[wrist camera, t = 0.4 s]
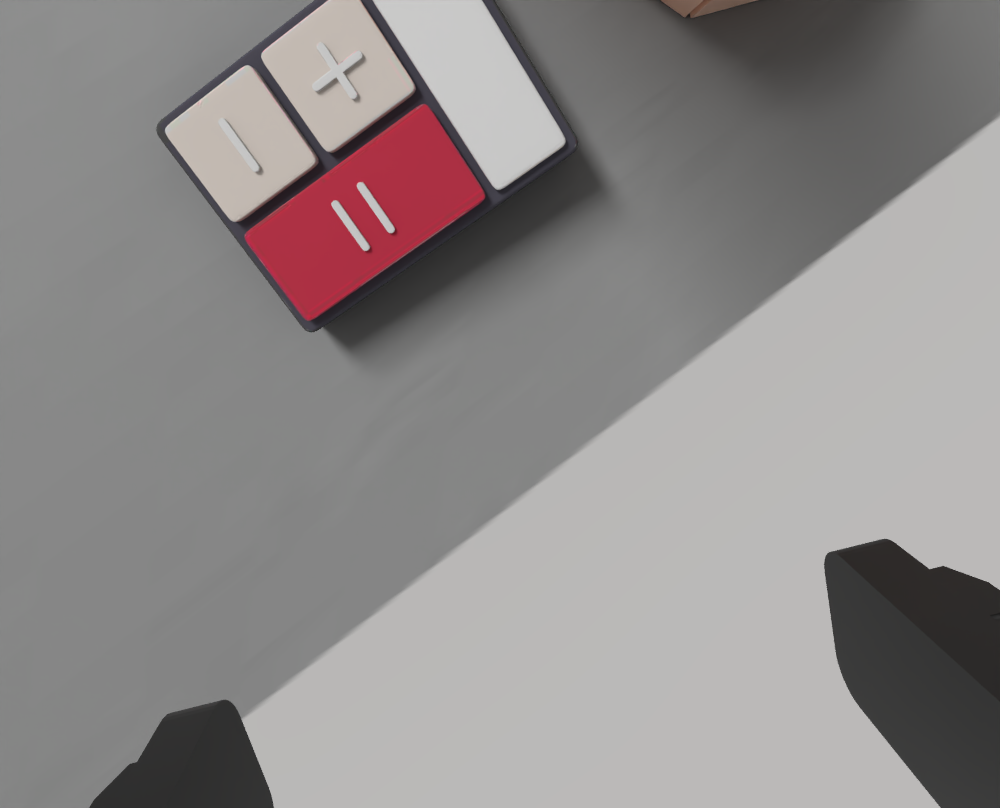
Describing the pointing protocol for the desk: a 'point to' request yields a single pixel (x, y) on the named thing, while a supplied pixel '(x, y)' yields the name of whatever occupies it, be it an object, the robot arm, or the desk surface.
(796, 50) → the desk surface
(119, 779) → the robot arm
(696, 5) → the bowl
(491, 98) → the calculator
